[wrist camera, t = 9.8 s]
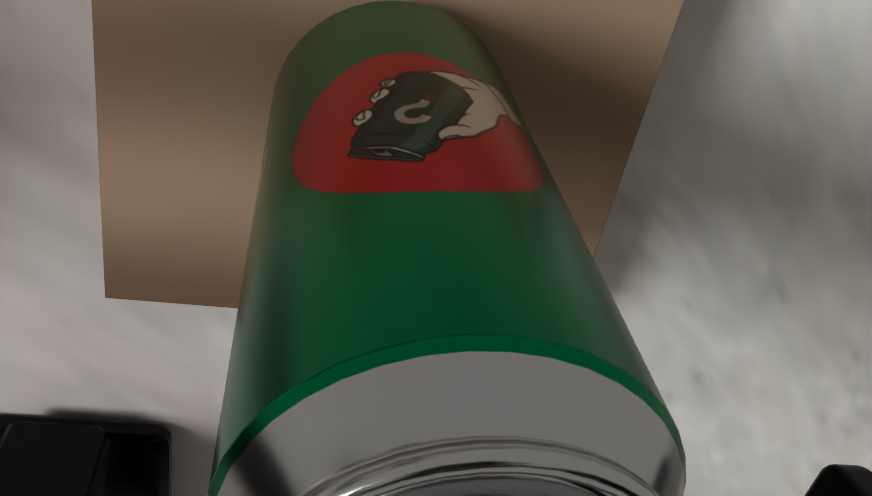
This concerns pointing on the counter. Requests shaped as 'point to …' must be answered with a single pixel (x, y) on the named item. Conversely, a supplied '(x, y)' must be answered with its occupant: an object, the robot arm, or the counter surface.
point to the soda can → (424, 291)
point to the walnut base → (251, 102)
